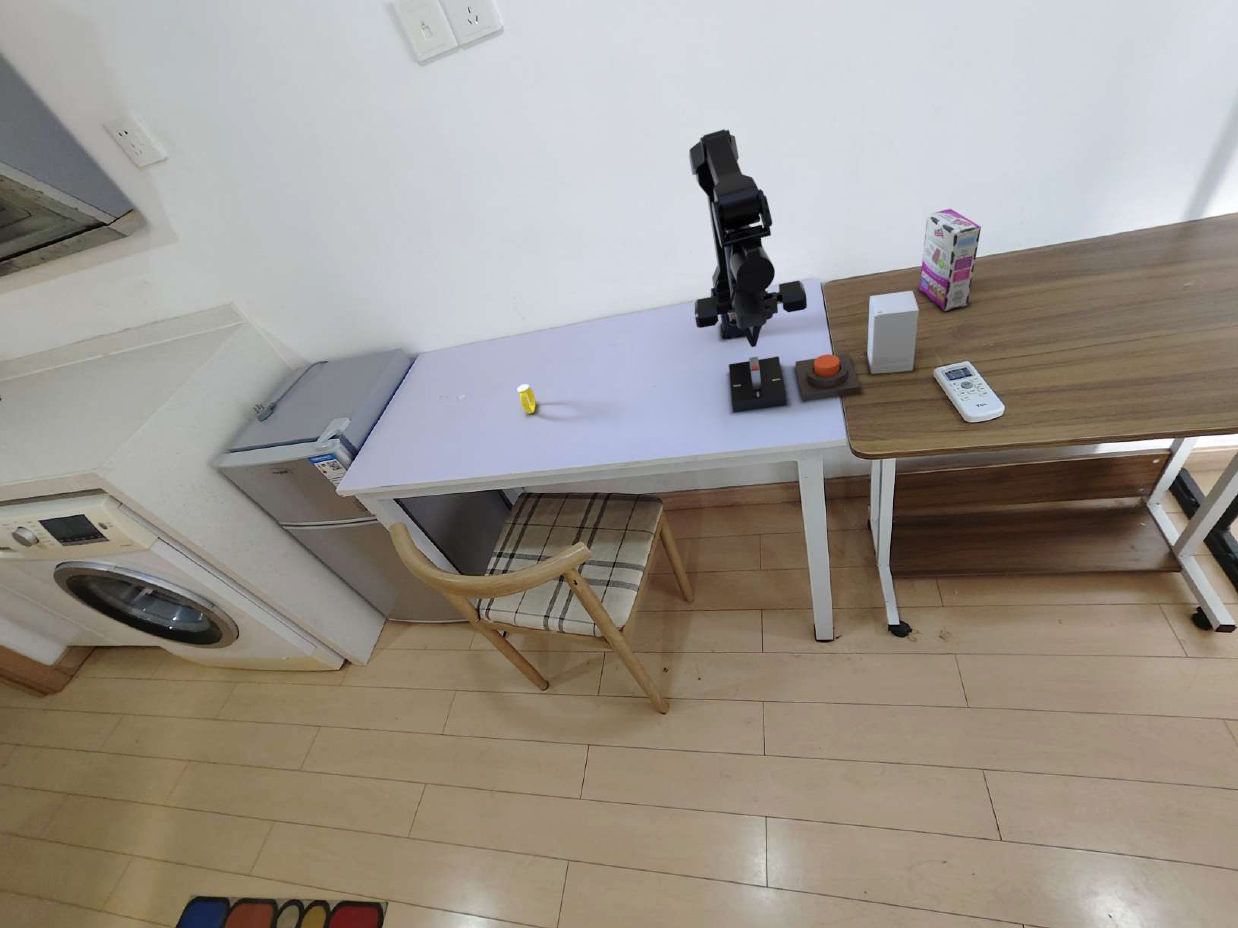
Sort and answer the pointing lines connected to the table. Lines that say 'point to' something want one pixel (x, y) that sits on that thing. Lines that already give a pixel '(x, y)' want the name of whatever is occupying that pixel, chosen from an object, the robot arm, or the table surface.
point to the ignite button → (826, 365)
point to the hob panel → (770, 384)
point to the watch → (523, 392)
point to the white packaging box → (892, 332)
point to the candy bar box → (949, 258)
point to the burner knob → (755, 373)
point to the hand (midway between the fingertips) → (753, 345)
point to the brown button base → (827, 380)
